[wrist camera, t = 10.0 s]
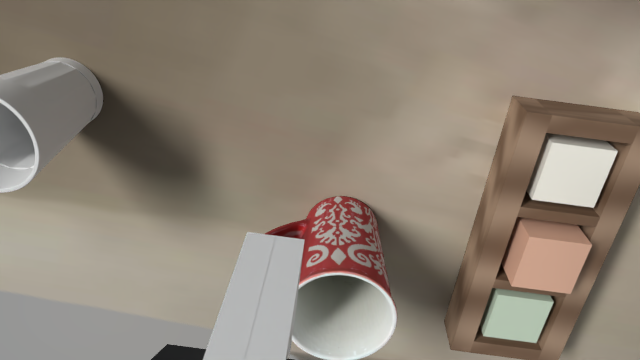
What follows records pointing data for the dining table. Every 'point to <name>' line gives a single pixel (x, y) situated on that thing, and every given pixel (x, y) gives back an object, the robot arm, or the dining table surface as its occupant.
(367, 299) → the mug
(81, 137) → the dining table surface
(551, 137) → the key ivory
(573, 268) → the key terracotta
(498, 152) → the wooden compartment tray
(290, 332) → the robot arm
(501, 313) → the key sage
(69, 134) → the cup
